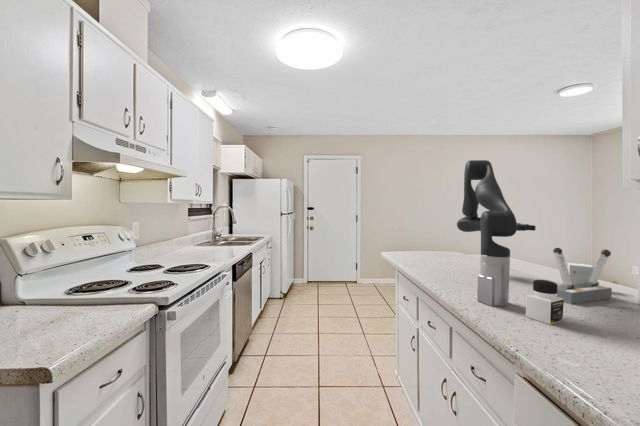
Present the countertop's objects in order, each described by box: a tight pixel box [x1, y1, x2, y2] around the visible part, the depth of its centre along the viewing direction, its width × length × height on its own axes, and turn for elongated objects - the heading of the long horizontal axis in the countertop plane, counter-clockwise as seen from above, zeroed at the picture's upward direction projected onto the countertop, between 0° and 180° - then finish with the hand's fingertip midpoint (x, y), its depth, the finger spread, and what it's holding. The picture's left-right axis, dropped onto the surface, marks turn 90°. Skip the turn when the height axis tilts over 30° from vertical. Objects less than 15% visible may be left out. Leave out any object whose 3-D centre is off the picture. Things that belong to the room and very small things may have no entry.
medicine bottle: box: [525, 279, 564, 326], centre depth 94 cm, size 7×7×12 cm
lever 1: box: [552, 247, 573, 289], centre depth 117 cm, size 3×3×16 cm
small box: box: [567, 262, 595, 284], centre depth 131 cm, size 8×6×10 cm
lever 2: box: [588, 249, 612, 286], centre depth 118 cm, size 3×3×16 cm
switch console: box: [556, 281, 613, 305], centre depth 117 cm, size 24×8×6 cm, turn 110°
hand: (529, 228), depth 129 cm, fingers open, 5 cm apart
